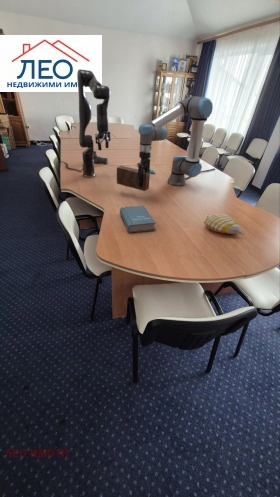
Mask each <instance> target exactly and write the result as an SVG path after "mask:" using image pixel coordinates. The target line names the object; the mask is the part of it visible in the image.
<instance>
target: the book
mask: <svg viewBox="0 0 280 497" xmlns="http://www.w3.org/2000/svg"><path fill="white" fill-rule="evenodd" d="M119 214H120V217H121V219H122V221H123V223H124V226H125V227H126V230H127V232H128V233H141V232H151V231H155V230H156V229H155V224H156V221H155V220H154V218H153V217H152V215H151V214H150V212H149V211H148V209H147V207H146V206H145V205H135V206H134V205H133V206H124V207H123V206H122V207H120V208H119Z"/></svg>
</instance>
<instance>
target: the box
mask: <svg viewBox="0 0 280 497" xmlns="http://www.w3.org/2000/svg"><path fill="white" fill-rule="evenodd" d="M150 178H151V173H150V172H146V171H144V173H143V187H139V178H138V168H133V167H129V166H125V165H119V166H117V167H116V185H120V186H124V187H128V188H131V189H134V190H135V189H136V190H138V191H143V192H145V191H148V190H149V189H150V180H151V179H150Z"/></svg>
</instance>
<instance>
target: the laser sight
mask: <svg viewBox="0 0 280 497" xmlns="http://www.w3.org/2000/svg"><path fill="white" fill-rule="evenodd" d="M93 157H94V164H105V165H106V164H108V158H107V157H101V156H98V154H97V151H96V150H94V153H93Z"/></svg>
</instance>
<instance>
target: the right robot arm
mask: <svg viewBox="0 0 280 497" xmlns="http://www.w3.org/2000/svg"><path fill="white" fill-rule="evenodd" d="M213 109H214V105H213V102H212V100H211V99H210V98H209V97H205V96H194V95H192V96H191V95H190V96H188V97H187V96H186V97H185V98H183V99H182V100H180V101H178V102H177V103H175V105H174V106H173V107H171V108H169V109H168V110H166V111H165V112H164V113H162V114H160V115H159V116H157V117H155V118H154V119H152V120H150V121H149V122H147V123H141V124H140V125H139V126H138V134H139V152H138V153H139V155H138V157H139V159H140V162H137V169H138V178H139V187H143V173H144V171H146V172H150V170H151V169H150V168H151V154H152V152H151V151H152V147H153V146H152V144H153V142H159V141H166V139H167V137H168V130H167V128H165V127H166V126H168V125H170V123H172V122H174V121H175V120H177V119H179V118H183V117H185V116H190V121H191V129H190V135H189V144H188V148H187V149H188V150H187V155H174V156H173V158H172V164H171V172H170V174H169V177H168V179H167V183H168V184H169V185H172V186H177V187H178V186H179V187H181V186H185V185H186V180H188V179H190V178H196V177H197V176H199V175H200V174H201V173H205V172H209V171H214V170H215V168H211V169H205V170H203V169H202V167H203V166H202V165H203V164H201V163H200V161H201V159H200V157H199V156H200V150H201V145H202V138H203V133H204V126H205V123H206V122H207V121H208V119H209V117H211V115H212V113H213ZM143 166H144V167H143ZM185 176H188V177H185Z"/></svg>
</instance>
